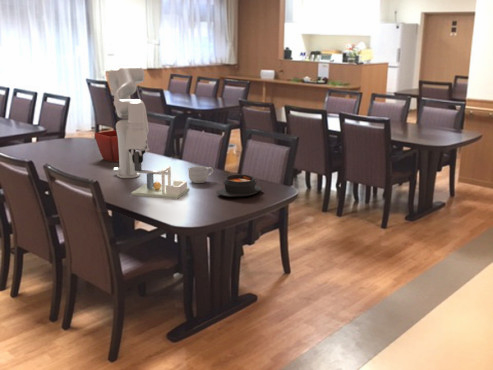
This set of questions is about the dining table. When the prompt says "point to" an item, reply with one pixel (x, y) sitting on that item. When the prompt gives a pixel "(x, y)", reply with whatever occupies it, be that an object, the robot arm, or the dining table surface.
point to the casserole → (239, 186)
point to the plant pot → (108, 145)
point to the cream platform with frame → (164, 188)
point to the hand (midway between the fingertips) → (137, 162)
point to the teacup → (199, 174)
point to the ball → (157, 185)
